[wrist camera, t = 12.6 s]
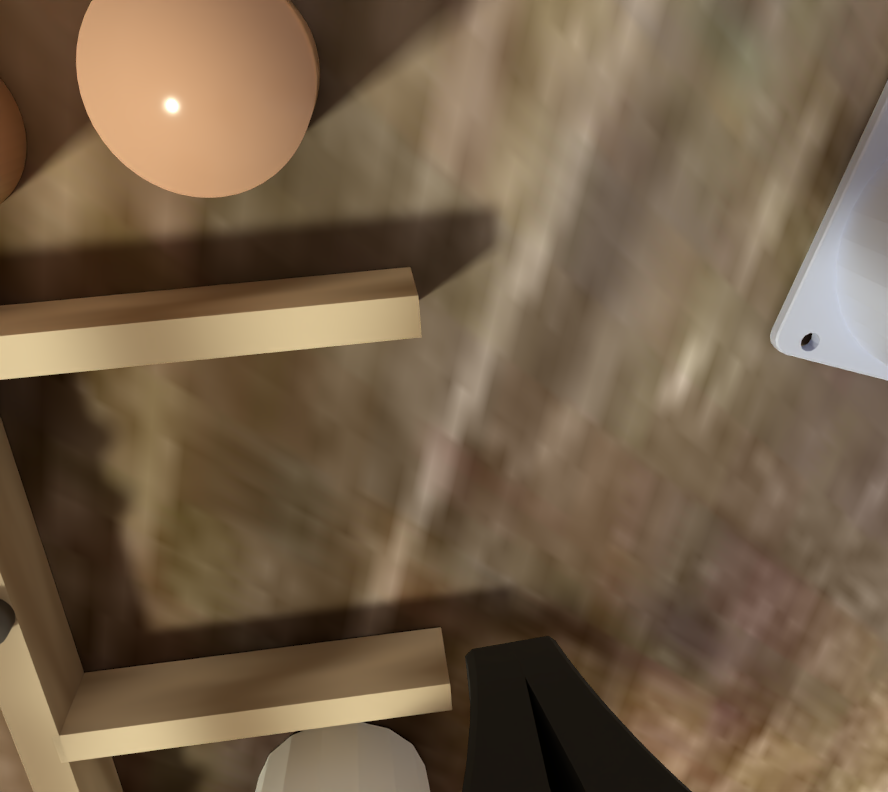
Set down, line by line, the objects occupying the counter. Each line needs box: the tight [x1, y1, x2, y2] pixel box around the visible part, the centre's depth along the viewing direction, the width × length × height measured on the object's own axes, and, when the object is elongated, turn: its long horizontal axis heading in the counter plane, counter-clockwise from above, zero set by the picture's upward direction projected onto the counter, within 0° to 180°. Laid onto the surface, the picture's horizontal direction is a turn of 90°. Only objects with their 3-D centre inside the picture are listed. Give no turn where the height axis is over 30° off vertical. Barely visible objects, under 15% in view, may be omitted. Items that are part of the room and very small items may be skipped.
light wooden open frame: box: [0, 267, 452, 792], centre depth 24 cm, size 12×24×3 cm, turn 4°
